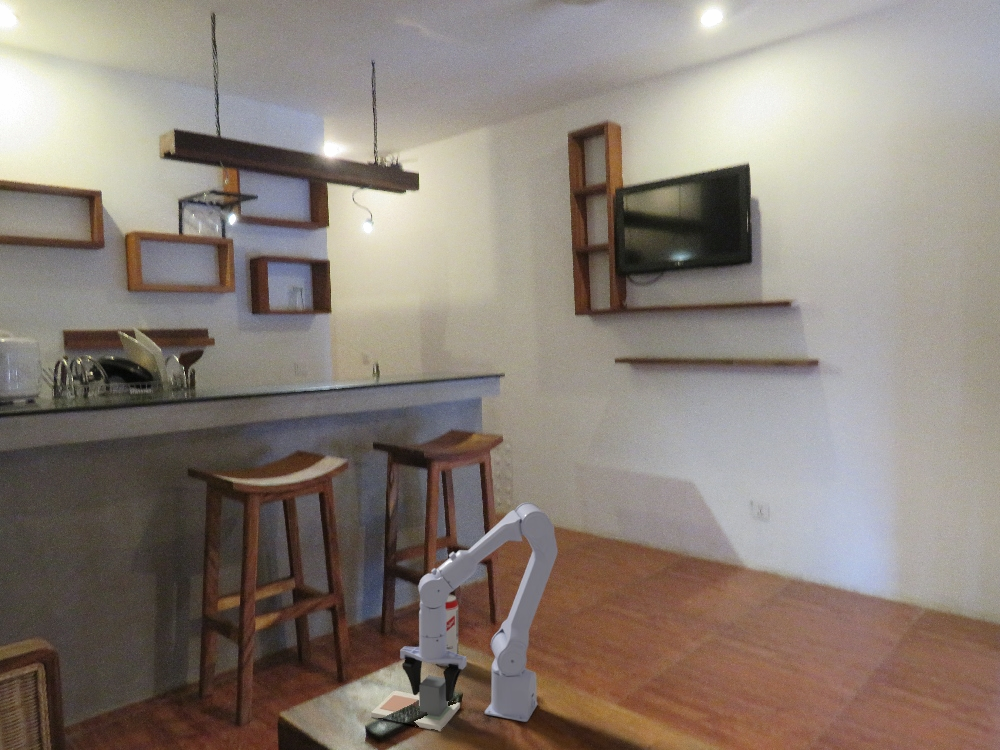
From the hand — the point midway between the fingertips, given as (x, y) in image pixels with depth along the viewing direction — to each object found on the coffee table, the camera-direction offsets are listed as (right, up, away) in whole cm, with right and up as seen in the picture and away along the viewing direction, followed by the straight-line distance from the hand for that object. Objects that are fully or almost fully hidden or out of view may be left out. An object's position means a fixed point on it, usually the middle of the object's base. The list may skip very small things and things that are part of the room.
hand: (433, 696), depth 146 cm
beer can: (+1, -4, +25) cm, 26 cm away
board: (-4, -4, +2) cm, 6 cm away
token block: (0, -3, +1) cm, 3 cm away
